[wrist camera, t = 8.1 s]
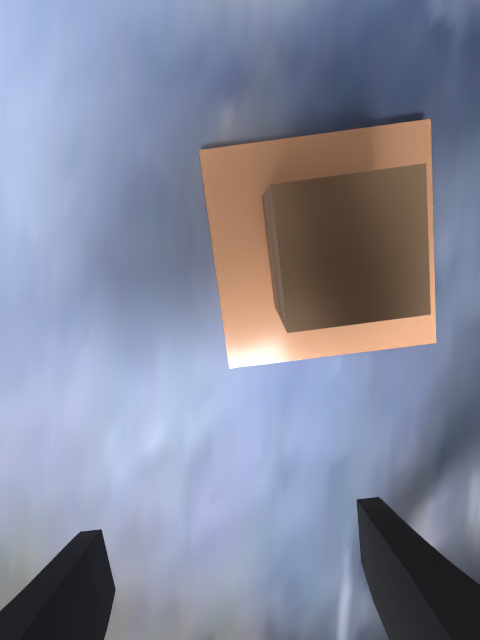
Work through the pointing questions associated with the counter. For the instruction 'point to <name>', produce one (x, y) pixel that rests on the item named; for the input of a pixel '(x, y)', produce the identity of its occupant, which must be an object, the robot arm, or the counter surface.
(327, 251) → the cube
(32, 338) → the counter surface
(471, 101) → the counter surface
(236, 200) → the plate
